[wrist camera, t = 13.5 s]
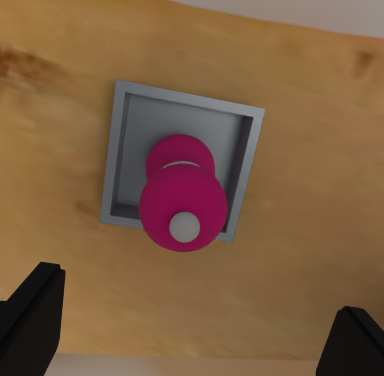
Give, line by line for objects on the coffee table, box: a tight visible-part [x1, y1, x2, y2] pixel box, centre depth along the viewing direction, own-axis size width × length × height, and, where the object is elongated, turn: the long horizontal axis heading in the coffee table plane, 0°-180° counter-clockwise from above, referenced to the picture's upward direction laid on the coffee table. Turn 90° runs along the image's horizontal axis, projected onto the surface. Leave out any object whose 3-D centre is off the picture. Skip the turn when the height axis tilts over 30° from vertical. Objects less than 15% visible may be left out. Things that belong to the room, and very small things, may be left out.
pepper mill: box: [139, 134, 227, 252], centre depth 27 cm, size 7×7×20 cm
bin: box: [100, 79, 265, 243], centre depth 35 cm, size 15×15×5 cm
